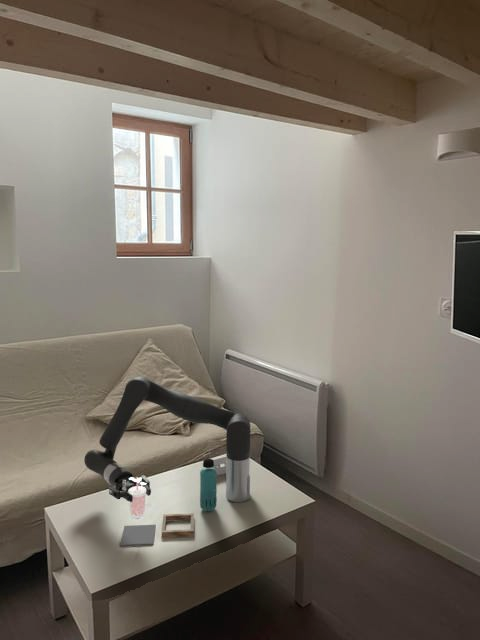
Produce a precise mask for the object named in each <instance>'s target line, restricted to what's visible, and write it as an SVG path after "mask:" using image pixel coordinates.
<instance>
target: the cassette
mask: <svg viewBox="0 0 480 640" xmlns="http://www.w3.org/2000/svg"><path fill="white" fill-rule="evenodd" d="M211 459H212V460H213V461H214V466H213V468H214V469H215V470H216V471H217V473H216V477H218V476H221V475H225V474H226V459H227V455H222V456H220V457H215V458H211Z"/></svg>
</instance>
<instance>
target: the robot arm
mask: <svg viewBox="0 0 480 640" xmlns="http://www.w3.org/2000/svg"><path fill="white" fill-rule="evenodd" d="M143 401H146V402H149V403H152V404H155V405H158V406H160V407H162V408H163V409H165V410H166V411H167V412H168V413H170V414H172V415H174V416H176V417H177V418H180V419H182V420H185V421H188V422H191V423H195V424H205V425H214V426H217V427H219V428H222V429H224V430H225V431H226V433H225V434H226V439H225V440H226V441H225V442H226V443H225V444H226V446H225V447H226V449H225V451H226V456H227V459H226V473H225V474H226V476H225V497H226V499H227V500H228V501H231V502H234V503H242V502H245V501H249V500H251V499H250V497H251V496H250V495H251V476H250V475H251V474H250V470H251V469H250V465H251V463H250V461H251V459H250V458H251V421H250V420H249V418H248V417H247V416H246V415H244V414H241V413H238V412H235V411H231V410H227V409H223V408H222V407H218V406H216V405H214V404H212V403H208V402H206V401H204V400H201V399H199V398H197V397H195V396H191V395H190V394H186V393H183V392H180V391H177V390H173V389H171V388H166V387H164V386H162V385H160V384H158V383H157V382H154V381H153V380H150V379H148V378H146V377H144V376H139V375H138V376H135V377H132V378H131V379H130V380H128V382H126V384H125V388H124V391H123V394H122V397H121V399H120V402H119V404H118V406H117V409H116V410H115V413H114V414H113V415H112V417H111V419H110V421H109V422H108V424H107V426H106V428H105V429H104V431H103V433H102V435H101V437H100V438H99V440H98V441H99V442H98V443H99V445H100V446H101V447H102V448H104V451H103V450H98V449H90V450H89V451H87V452H86V453H85V455H84V462H83V463H84V464H85V466H86V468H87V469H89V470H90V471H91V472H94V473H96V474H98V475H100V476H101V477H102V478H103V479H104V480H105V482H107V484H108V485H109V486H108V495H111V497H113V498H115V499H116V500H120V499H121V498H122V499H125V500H126V501H127V502H129V503H130V502H132V501H133V496H132V495H131V494H130V493H129V492H128V490H129V489H130V488H132V487H135V486H137V484H136V477H134V475H133V473H132V472H131V471H129V470H128V469H127V468H125V467H124V466H123V465H122V464H119V463H118V462H117V461H116V460H114V459H115V458H114V457H115V453H116V452H117V451H116V450H117V447H118V445H119V443H120V441H121V439H122V437H123V436H124V434H125V432H126V430H127V427H128V426H129V422H130V421H131V418H132V417H133V415H134V413H135V412H136V410H137V409H138V407H139V406H140V405H141V403H142V402H143ZM150 483H151V481H150V480H149V479H148V477H146V476H145V475H144V474H142V475H141V476H140V477H138V486H143V487H145V488H146V494H145V495H146V496H151V494H152V488H151V484H150Z"/></svg>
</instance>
